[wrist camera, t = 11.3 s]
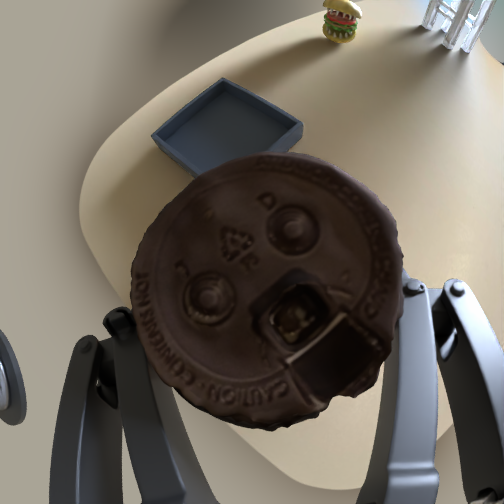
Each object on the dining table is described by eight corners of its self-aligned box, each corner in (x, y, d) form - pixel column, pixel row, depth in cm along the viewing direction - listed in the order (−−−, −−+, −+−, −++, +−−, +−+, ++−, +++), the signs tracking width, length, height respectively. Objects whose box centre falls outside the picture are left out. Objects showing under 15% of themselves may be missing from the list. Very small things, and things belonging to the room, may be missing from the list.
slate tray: (158, 147, 36) (150, 135, 33) (226, 91, 38) (222, 77, 34) (229, 207, 33) (224, 197, 30) (302, 137, 35) (303, 123, 31)
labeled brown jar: (330, 360, 17) (419, 435, 5) (212, 362, 18) (113, 435, 5) (326, 239, 19) (398, 130, 7) (212, 242, 20) (125, 141, 7)
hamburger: (314, 37, 40) (317, -9, 28) (327, 26, 41) (332, -16, 29) (349, 50, 38) (358, 3, 27) (360, 38, 39) (369, -4, 27)
